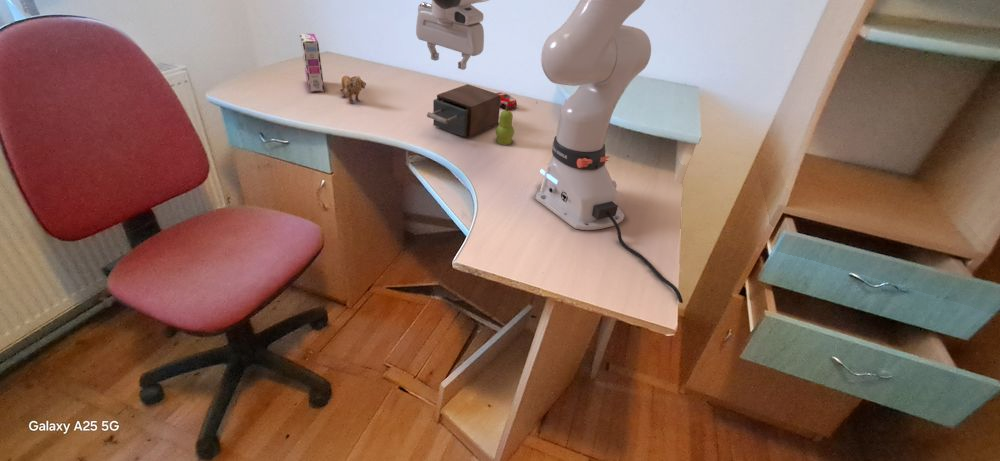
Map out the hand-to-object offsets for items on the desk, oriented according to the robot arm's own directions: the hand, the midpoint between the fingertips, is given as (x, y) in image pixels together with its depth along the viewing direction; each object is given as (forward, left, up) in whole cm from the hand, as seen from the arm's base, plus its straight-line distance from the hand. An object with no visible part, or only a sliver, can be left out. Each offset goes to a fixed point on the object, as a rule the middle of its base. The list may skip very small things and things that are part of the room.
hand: (448, 64), depth 123 cm
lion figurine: (+34, +21, -21) cm, 45 cm away
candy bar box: (+48, +31, -21) cm, 61 cm away
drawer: (+3, -4, -20) cm, 20 cm away
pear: (-9, -15, -21) cm, 27 cm away
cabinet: (+5, -9, -21) cm, 23 cm away
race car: (+19, -26, -21) cm, 38 cm away
